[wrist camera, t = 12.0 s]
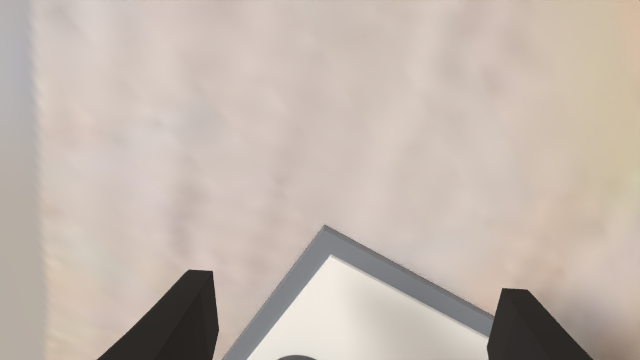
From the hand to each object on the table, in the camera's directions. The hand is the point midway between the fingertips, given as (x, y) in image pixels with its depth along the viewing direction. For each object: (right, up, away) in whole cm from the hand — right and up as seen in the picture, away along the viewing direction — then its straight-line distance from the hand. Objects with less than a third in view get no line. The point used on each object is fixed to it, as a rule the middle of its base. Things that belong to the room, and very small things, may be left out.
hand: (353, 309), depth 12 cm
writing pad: (+1, -8, +15) cm, 17 cm away
